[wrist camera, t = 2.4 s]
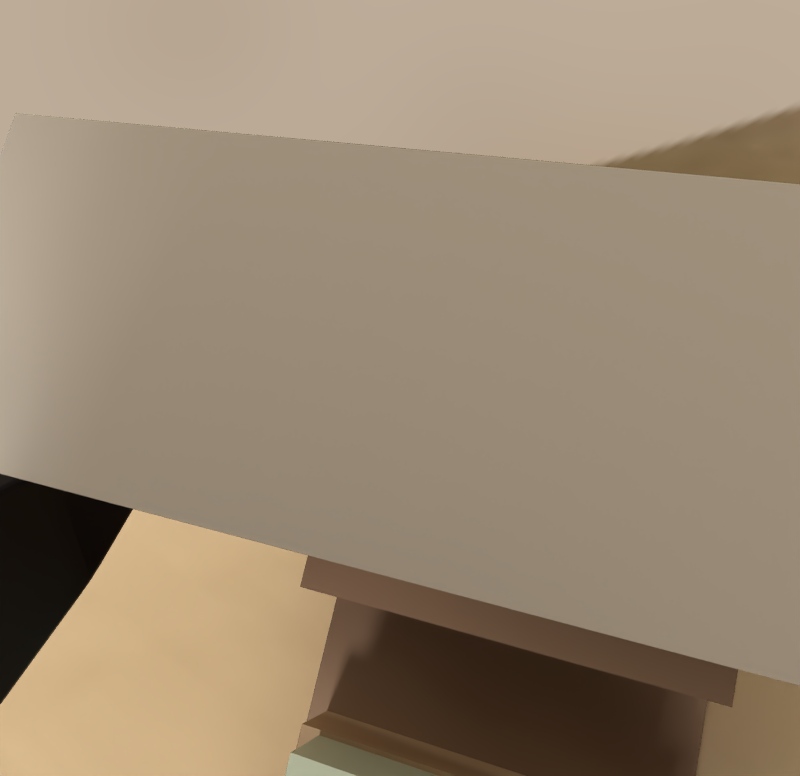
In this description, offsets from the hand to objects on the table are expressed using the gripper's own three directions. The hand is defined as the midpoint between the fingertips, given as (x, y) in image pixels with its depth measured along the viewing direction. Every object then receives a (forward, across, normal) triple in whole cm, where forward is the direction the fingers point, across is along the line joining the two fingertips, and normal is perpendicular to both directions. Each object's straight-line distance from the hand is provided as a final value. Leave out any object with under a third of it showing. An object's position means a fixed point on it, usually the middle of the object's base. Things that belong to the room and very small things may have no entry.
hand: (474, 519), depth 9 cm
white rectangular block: (+6, 0, +5) cm, 8 cm away
